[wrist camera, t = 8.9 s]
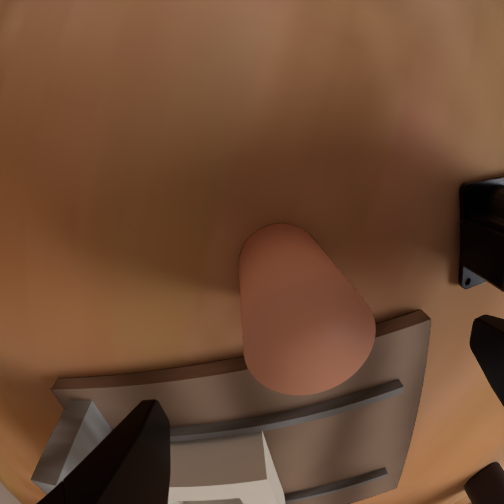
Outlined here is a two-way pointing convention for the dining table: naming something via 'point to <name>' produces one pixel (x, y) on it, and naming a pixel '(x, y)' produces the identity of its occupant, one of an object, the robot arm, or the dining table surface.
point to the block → (224, 472)
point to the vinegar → (487, 486)
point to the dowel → (299, 314)
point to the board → (267, 417)
